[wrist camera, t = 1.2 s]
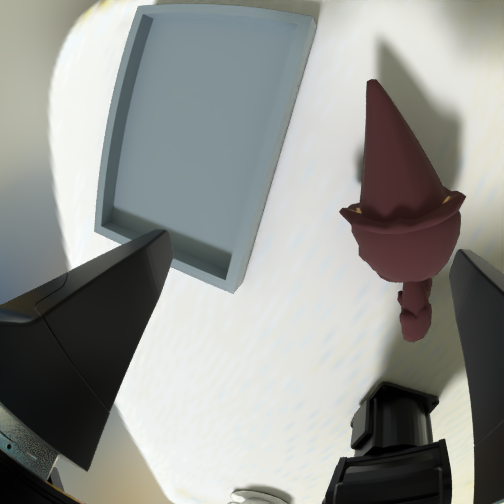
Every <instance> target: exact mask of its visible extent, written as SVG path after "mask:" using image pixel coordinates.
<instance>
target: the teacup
mask: <svg viewBox="0 0 504 504" xmlns="http://www.w3.org/2000/svg"><path fill="white" fill-rule="evenodd" d="M231 499H232V500H233V501H234V502H229V503H228V504H287V503H286V502H284V501H283V500H281V499H279V498H276V497H274V496H271V495H267V494H264V493H259V492H254V491H236V492H233V493H232V494H231Z"/></svg>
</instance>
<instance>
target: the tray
mask: <svg viewBox="0 0 504 504" xmlns="http://www.w3.org/2000/svg"><path fill="white" fill-rule="evenodd" d="M316 29H317V27H316V24H315V21H314V18H313V17H312V16H308V15H302V14H297V13H291V12H285V11H279V10H272V9H265V8H256V7H247V6H235V5H220V4H160V5H145V6H138V8H137V11H136V14H135V17H134V19H133V22H132V26H131V29H130V32H129V35H128V38H127V42H126V45H125V48H124V52H123V55H122V59H121V63H120V67H119V70H118V74H117V78H116V83H115V87H114V91H113V96H112V100H111V105H110V110H109V115H108V120H107V126H106V131H105V137H104V143H103V150H102V157H101V164H100V172H99V181H98V190H97V200H96V213H95V228H94V232H96V233H98V234H100V235H103V236H105V237H107V238H109V239H111V240H113V241H115V242H117V243H119V244H122V245H123V244H125V243H127V242H129V241H131V240H133V239H135V238H138V237H140V236H142V235H144V234H146V233H148V232H150V231H153V230H155V229H165V230H167V231H168V232H169V234H170V238H171V243H172V248H173V253H174V255H173V260H172V263H171V266H170V267H172V268H174V269H176V270H179V271H181V272H183V273H186V274H188V275H190V276H192V277H195V278H197V279H199V280H202V281H204V282H206V283H209V284H211V285H213V286H216V287H218V288H220V289H223V290H225V291H228V292H230V293H232V294H234V292H235V291H236V290H237V289H238V287H239V286H240V285H241V284H242V282H243V279H244V276H245V272H246V269H247V265H248V262H249V258H250V255H251V252H252V248H253V245H254V241H255V238H256V234H257V231H258V227H259V224H260V221H261V217H262V214H263V210H264V207H265V203H266V200H267V197H268V193H269V190H270V186H271V183H272V179H273V176H274V173H275V169H276V166H277V162H278V159H279V155H280V152H281V148H282V145H283V142H284V138H285V135H286V131H287V128H288V124H289V121H290V118H291V114H292V111H293V107H294V104H295V100H296V97H297V94H298V90H299V87H300V83H301V80H302V76H303V73H304V70H305V66H306V63H307V59H308V56H309V53H310V49H311V46H312V42H313V39H314V35H315V32H316Z"/></svg>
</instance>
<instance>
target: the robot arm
mask: <svg viewBox="0 0 504 504" xmlns="http://www.w3.org/2000/svg"><path fill="white" fill-rule="evenodd" d="M173 255H174V253H173V248H172V243H171V238H170V234H169V232H168V231H167V230H165V229H155V230H153V231H150V232H148V233H146V234H144V235H142V236H140V237H138V238H135V239H133V240H131V241H129V242H127V243H125V244H123V245H121V246H119V247H117V248H115V249H112V250H110V251H108V252H106V253H104V254H102V255H100V256H98V257H96V258H94V259H92V260H90V261H88V262H86V263H84V264H82V265H80V266H78V267H76V268H74V269H72V270H71V271H69V273H68V272H67V273H65V274H63V275H61V276H59V277H57V278H55V279H53V280H51V281H49V282H47V283H45V284H43V285H41V286H39V287H37V288H35V289H33V290H31V291H29V292H27V293H24V294H22V295H20V296H18V297H16V298H14V299H12V300H10V301H8V302H6V303H4V304H1V305H0V504H85V503H83V502H81V501H79V500H77V499H76V498H74V497H72V496H71V495H69V494H67V493H65V492H64V489H63V486H62V483H61V480H60V477H59V473H58V470H57V468H55V467H54V466H55V464H56V462H57V459H58V457H60V458H62V459H64V460H66V461H67V462H69V463H71V464H73V465H75V466H77V467H79V468H81V469H82V470H84V471H88V470H89V468H90V466H91V462H92V460H93V457H94V454H95V451H96V449H97V445H98V443H99V440H100V437H101V435H102V432H103V430H104V427H105V424H106V422H107V419H108V417H109V414H110V411H111V408H112V406H113V403H114V401H115V398H116V396H117V393H118V391H119V389H120V386H121V384H122V381H123V379H124V376H125V374H126V372H127V369H128V367H129V365H130V362H131V360H132V358H133V355H134V353H135V351H136V348H137V346H138V344H139V341H140V339H141V337H142V335H143V332H144V330H145V328H146V326H147V324H148V321H149V319H150V317H151V315H152V313H153V310H154V308H155V306H156V304H157V302H158V299H159V297H160V295H161V292H162V289H163V286H164V283H165V280H166V277H167V275H168V272H169V269H170V266H171V263H172V260H173ZM449 278H450V284H451V290H452V296H453V303H454V309H455V316H456V321H457V326H458V331H459V335H460V340H461V345H462V350H463V355H464V361H465V366H466V372H467V379H468V386H469V393H470V401H471V411H472V421H473V435H474V445H475V446H474V502H473V504H500V503H503V502H504V274H503V273H502V272H500V271H499V270H498V269H496V268H495V267H493V266H492V265H491V264H489V263H488V262H487V261H485V260H484V259H482V258H481V257H479V256H478V255H477V254H475V253H474V252H472V251H471V250H466V249H459V250H458V251H457V253H456V255H455V258H454V261H453V264H452V267H451V270H450V274H449ZM383 387H386V388H383ZM434 401H435V402H434ZM438 404H439V398H438V397H436V396H433V395H429V394H426V393H422V392H419V391H415V390H412V389H409V388H405V387H402V386H399V385H395V384H392V383H389V382H382V383H381V384H380V385H379V386H378V387H377V389H376V390H375V392H374V393H373V394H372V395H371V397H370V398H368V399H366V400H365V402H364V403H363V404H362V406H361V407H360V408H359V409H358V411H357V412H356V413H355V414H354V418H353V420H352V421H351V427H352V428H353V430H352V438H351V448H352V449H354V450H355V455H354V457H350V458H347V457H340V460H339V462H338V465H337V466H336V468H335V471H334V474H333V476H332V479H331V482H330V484H329V487H328V489H327V492H326V495H325V498H324V499H323V501H322V504H451V500H452V476H451V467H450V462H449V456H448V451H447V446H446V441H445V439H441V440H439V441H438V442H434V443H433V435H432V427H431V419H430V413H431V412H432V411H433V410H434V409H435V407H436V406H437V405H438Z"/></svg>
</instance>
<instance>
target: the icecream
mask: <svg viewBox="0 0 504 504" xmlns="http://www.w3.org/2000/svg"><path fill="white" fill-rule="evenodd" d="M465 198H466V196H465V195H464V194H462V193H460V192H459V191H450V190H448V189H447V188H445V187H444V186H442V184H441V182H440V180H439V178H438V176H437V174H436V172H435V170H434V168H433V167H432V165H431V163H430V161H429V159H428V157H427V156H426V154H425V152H424V150H423V149H422V147H421V145H420V144H419V142H418V140H417V139H416V137H415V135H414V134H413V132H412V131H411V129H410V127H409V126H408V124H407V123H406V121H405V120H404V118H403V116H402V115H401V113H400V112H399V110H398V109H397V107H396V106H395V104H394V103H393V101H392V100H391V98H390V97H389V96H388V94H387V93H386V91H385V90H384V88H383V87H382V86H381V85H380V83H379V82H378V81H377V80H376V79H371V80H369V81H367V88H366V126H365V145H364V160H363V173H362V185H361V195H360V203H356V204H352V205H350V206H349V207H348V208H342V209H341V210H340V211H339V212H340V214H341V215H342V216H343V217H344V218H345V219H346V220H347V221H348V222H349V223H350V224H351V225H352V233H353V235H354V237H355V239H356V241H357V243H358V245H359V256H360V257H361V258H362V259H363V260H364V261H366V262H367V263H368V264H369V265H370V267H371V268H372V269H373V270H374V271H376V272H377V274H378V275H379V276H380V277H381V278H382V279H384V280H386V281H389V282H396V283H397V282H399V283H402V282H403V291H399V292H398V299H397V300H398V302H399V303H400V305H401V307H402V308H401V313H400V316H399V317H400V322H401V325H402V334H403V337H404V339H405V340H406V341H409V342H415V341H417V340H420V339H422V338H423V337H424V336H425V334H426V333H427V331H428V329H429V327H430V325H431V313H432V309H431V304H429V301H428V298H429V295H430V291H431V286H432V279H431V277H433V276H435V275H437V274H438V273H439V272H440V271H441V270H442V268H443V267H444V266H445V265H446V264H447V262H448V260H449V258H450V256H451V254H452V252H453V250H454V248H455V245H456V243H457V240H458V237H459V235H460V225H461V214H460V212H459V209H460V207H461V205H462V203H463V201H464V200H465Z"/></svg>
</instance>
